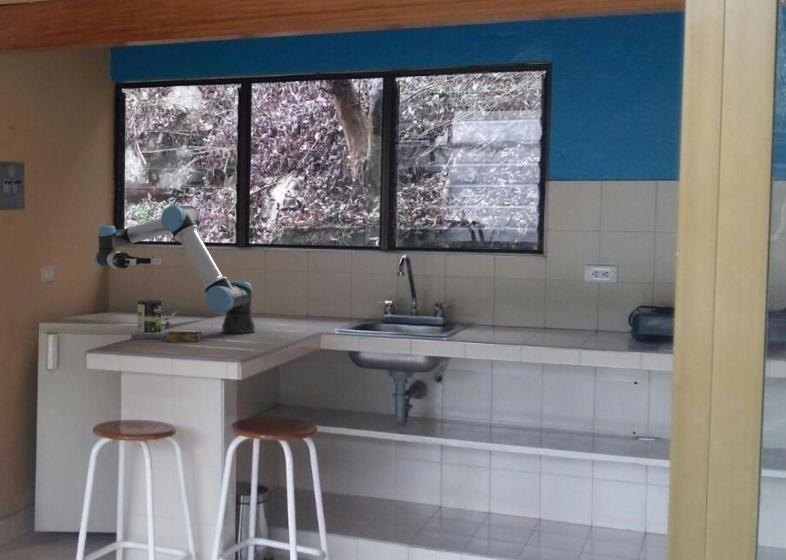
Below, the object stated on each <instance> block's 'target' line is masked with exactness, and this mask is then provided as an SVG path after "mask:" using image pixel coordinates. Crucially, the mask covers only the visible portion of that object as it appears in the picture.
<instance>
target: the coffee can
mask: <svg viewBox="0 0 786 560" xmlns="http://www.w3.org/2000/svg"><path fill="white" fill-rule="evenodd" d="M136 303H137V331H138V332H137V333H138V334H148V335H151V334H161V332H162V305H163V304H162V303H163V301H162V300H155V299H154V300H153V299H151V300H150V299H143V300H141V299H140V300H137V301H136Z"/></svg>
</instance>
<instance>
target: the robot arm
mask: <svg viewBox="0 0 786 560" xmlns="http://www.w3.org/2000/svg"><path fill="white" fill-rule="evenodd" d="M201 221H202V215H201V212H200V211H199V209H197V208H196V207H194V206H192V205H180V204H175V205H169V206H167V207H165V209H163V211H162V213H161V217H160V218H159V219H155V220H152V221H148V222H145V223H141V224H138V225H137V224H136V225H134V226H130V227H127V228H123V229H116V226H115V225H99V227H98V237H97V238H98V239H97V240H98V251H96V252H95V254H94V256H93V261H94V264H95V265H96V266H97V267H103V268H112V269H114V270H117V269H125V270H126V269H127V268H128V267H130V266H136V265H140V264H148V265H156V266H157V265H158V266H161V265H162V259H161V258H156V257H155V256H151V257H139V256H131V255H130V254H129V253H128V252H124V251H116V246H117V247H118V246H125V247H126V246H131V245H133V244H134V243H138V242H142V241H145V240H149V239H153V238H156V237H157V238H158V237H160V236H164V235H167V234H168V235H169V234H171V235H172V236H173V238H174V239H175V240H176V241H180V244H181V246H182V247H183V249H184V250H185V252H186V254H187V256H188V258H189V259H190V261H191V262H192V264H193V266H194V268H195V270H196V271H197V273H198V275H199V277H200V278H201V280H202V282H203V283H204V292H205V294H206V295H205V301H206V305H207V306H208V307H209V309H211V311H214V312H216V313H225V316H224V319H223V323H222V326H221V332H222V333H227V334H251V333H255V332H256V326H255V323H254V320H253V316H252V297H253V296H252V294H253V293H252V292H253V288H252V284H251V283H250V282H247V281H234V280H233V281H232V280H231V281H230V280H229V278H228V277H227V276H223V275H222V272H221V271H220V269H219V268H218V266H217V263H216V262H215V260H214V258H213V256H212V255H211V254H210V252H209V250H208V248H207V247H206V244H205V243H204V242H203V240H202V238H201V236H200V234H199V232H198V227H200V224H201Z"/></svg>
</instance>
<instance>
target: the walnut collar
mask: <svg viewBox="0 0 786 560" xmlns="http://www.w3.org/2000/svg"><path fill="white" fill-rule="evenodd" d="M202 336H203V335H202V331H166V334H165V335H164V337H163V342H164V343H165V342H166V343H167V342H169V343H170V342H171V343H172V342H173V343H175V342H176V343H181V342H182V343H186V342H187V343H191V342H192V343H193V342H194V343H195V342H197V343H198V342H200V340H201V339H202Z"/></svg>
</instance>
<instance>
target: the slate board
mask: <svg viewBox="0 0 786 560" xmlns="http://www.w3.org/2000/svg"><path fill="white" fill-rule="evenodd" d="M137 332H138V330H137V331H134V332H133V333H132V334H131V335H130V339H133V340H135V339H137V340H141V339H143V340H144V339H145V338H154V340H156V339H155V338H159V340H163V339H164V335H165V334H166V333H167V331H161V334H151V335H148V334H138V333H137Z"/></svg>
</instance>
